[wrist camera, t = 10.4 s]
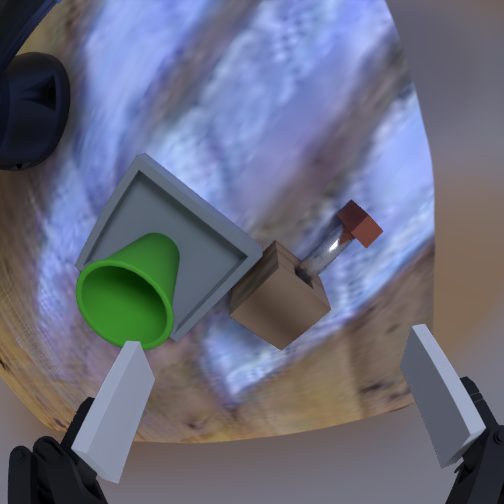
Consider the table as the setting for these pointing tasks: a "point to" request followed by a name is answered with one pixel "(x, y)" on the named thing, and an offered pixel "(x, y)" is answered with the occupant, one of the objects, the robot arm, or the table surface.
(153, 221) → the tray
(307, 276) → the pin
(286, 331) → the mount
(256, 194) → the table surface
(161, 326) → the cup
